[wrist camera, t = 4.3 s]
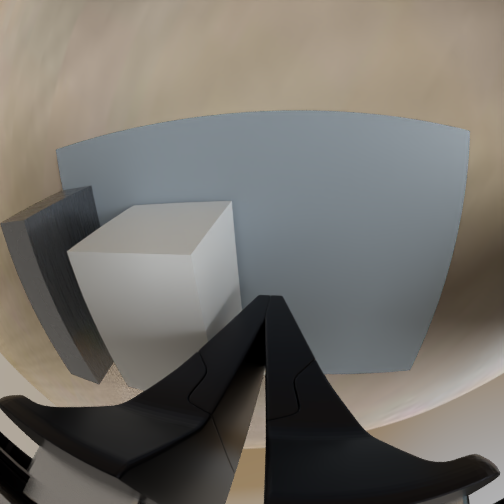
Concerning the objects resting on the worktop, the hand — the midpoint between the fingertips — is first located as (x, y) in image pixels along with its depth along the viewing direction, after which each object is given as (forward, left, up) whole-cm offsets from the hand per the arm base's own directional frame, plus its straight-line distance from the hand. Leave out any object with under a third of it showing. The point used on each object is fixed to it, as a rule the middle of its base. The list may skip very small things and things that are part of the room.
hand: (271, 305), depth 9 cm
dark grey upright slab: (+9, 0, -2) cm, 9 cm away
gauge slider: (+3, +1, -2) cm, 4 cm away
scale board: (+1, 0, -3) cm, 3 cm away
